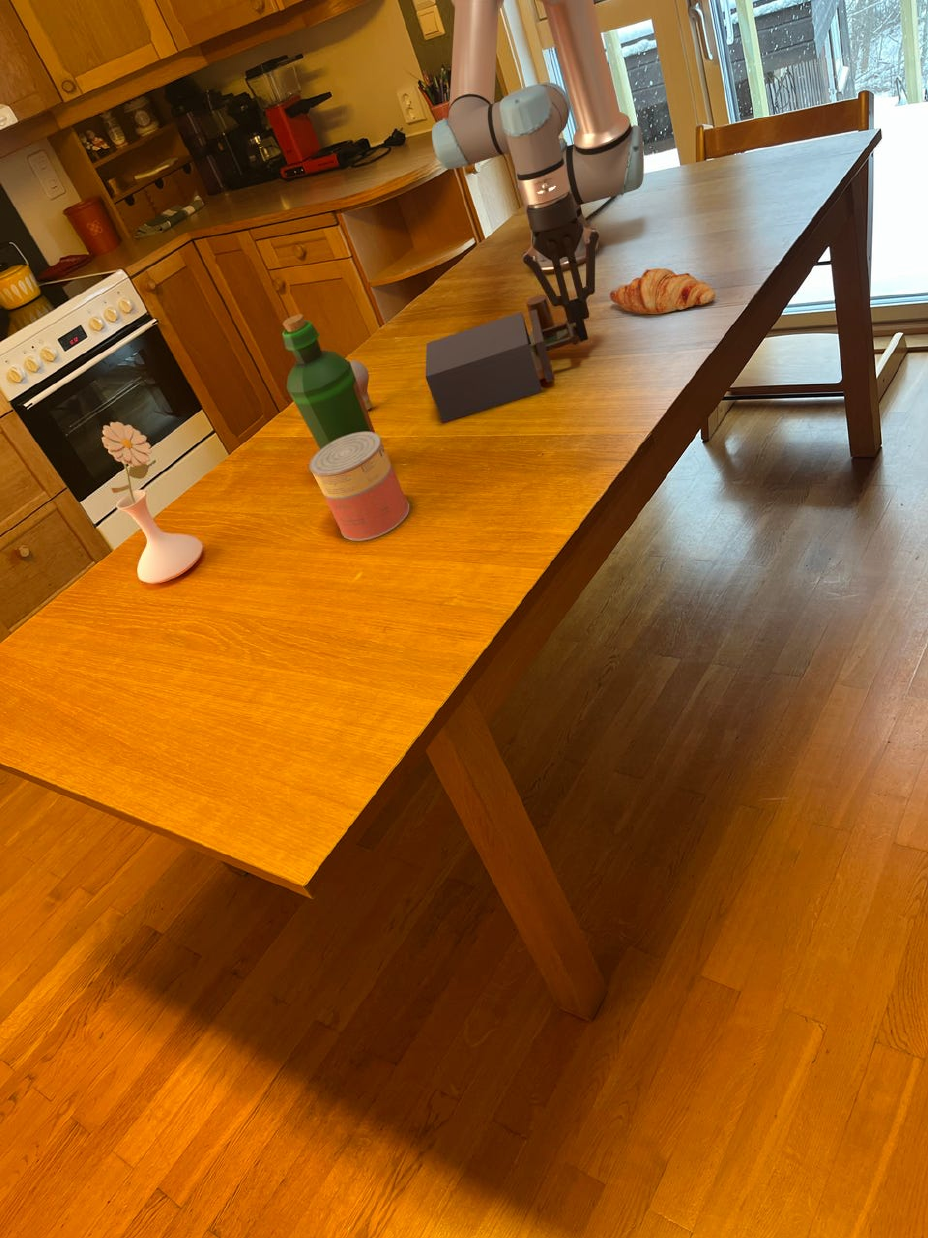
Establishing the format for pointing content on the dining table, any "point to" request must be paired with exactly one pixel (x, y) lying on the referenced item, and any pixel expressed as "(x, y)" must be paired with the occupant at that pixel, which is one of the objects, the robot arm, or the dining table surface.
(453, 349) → the cabinet
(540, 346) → the drawer
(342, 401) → the bottle
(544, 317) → the lid
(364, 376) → the light bulb
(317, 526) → the dining table surface
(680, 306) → the croissant
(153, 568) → the flower in vase
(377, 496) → the canned food
